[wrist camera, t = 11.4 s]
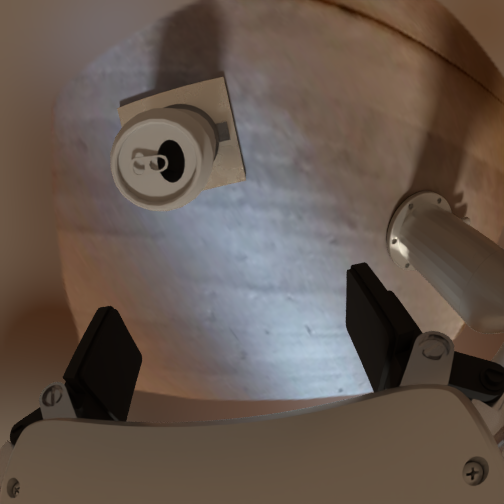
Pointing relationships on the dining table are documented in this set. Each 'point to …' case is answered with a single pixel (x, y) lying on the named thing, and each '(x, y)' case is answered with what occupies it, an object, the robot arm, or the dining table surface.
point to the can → (163, 158)
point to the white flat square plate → (214, 111)
